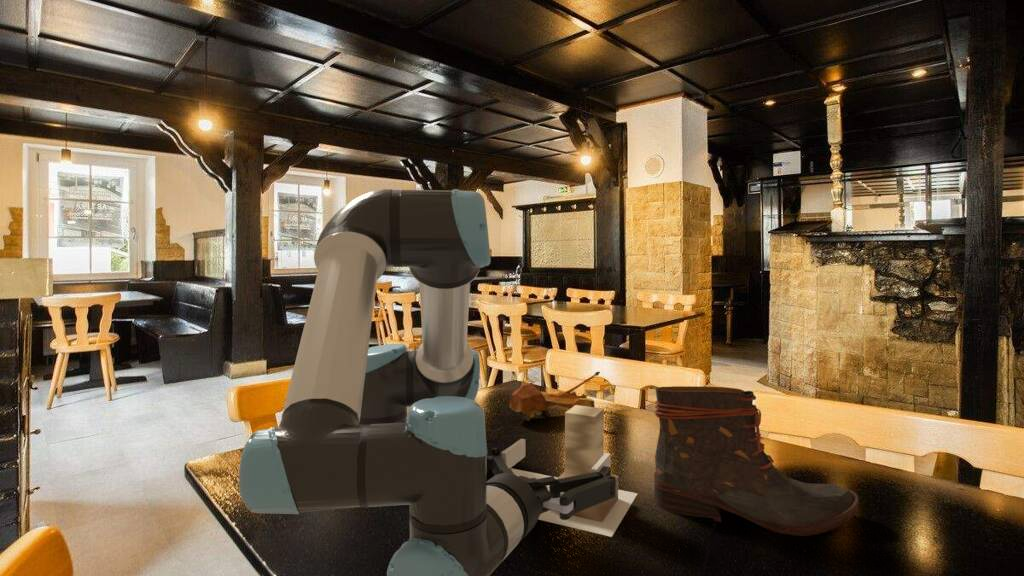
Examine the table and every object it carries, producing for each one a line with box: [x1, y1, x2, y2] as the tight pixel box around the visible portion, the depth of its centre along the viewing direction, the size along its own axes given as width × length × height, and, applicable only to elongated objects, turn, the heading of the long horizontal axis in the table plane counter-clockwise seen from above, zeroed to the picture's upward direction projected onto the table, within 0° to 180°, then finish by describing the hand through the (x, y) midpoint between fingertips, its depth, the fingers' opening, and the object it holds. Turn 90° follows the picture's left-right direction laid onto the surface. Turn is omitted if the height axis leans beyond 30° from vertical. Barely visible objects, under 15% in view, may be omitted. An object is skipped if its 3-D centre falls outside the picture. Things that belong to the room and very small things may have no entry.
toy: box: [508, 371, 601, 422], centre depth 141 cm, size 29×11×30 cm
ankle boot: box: [653, 385, 859, 537], centre depth 85 cm, size 11×31×20 cm, turn 76°
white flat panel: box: [511, 467, 639, 538], centre depth 91 cm, size 26×16×1 cm, turn 63°
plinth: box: [549, 470, 619, 522], centre depth 88 cm, size 9×9×4 cm
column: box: [564, 405, 605, 478], centre depth 88 cm, size 5×5×12 cm
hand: (564, 454), depth 79 cm, fingers open, 13 cm apart
